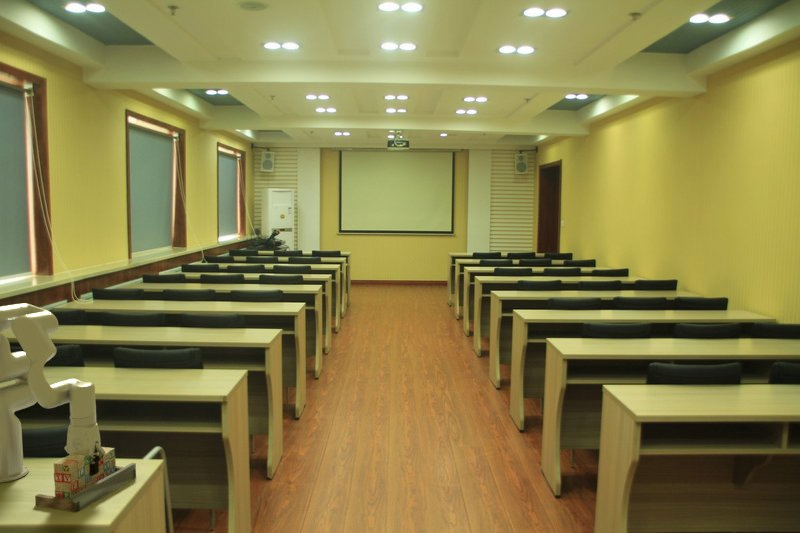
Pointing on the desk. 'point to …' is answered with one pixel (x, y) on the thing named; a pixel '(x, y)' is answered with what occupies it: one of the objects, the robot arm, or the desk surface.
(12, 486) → the desk surface
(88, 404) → the robot arm
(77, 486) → the stack of blocks
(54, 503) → the u-shaped fence
